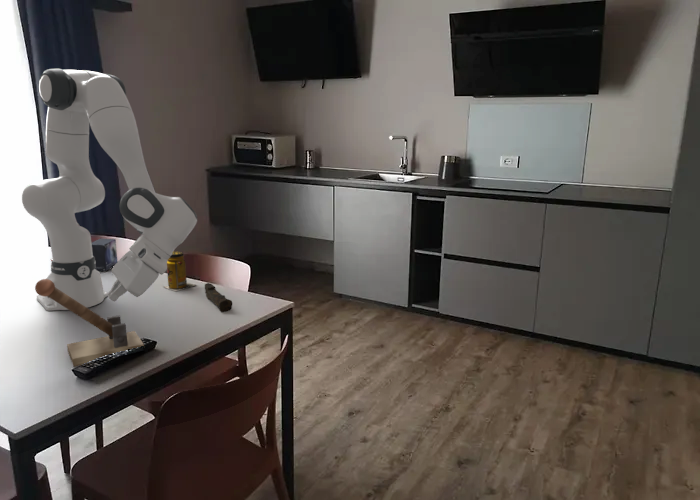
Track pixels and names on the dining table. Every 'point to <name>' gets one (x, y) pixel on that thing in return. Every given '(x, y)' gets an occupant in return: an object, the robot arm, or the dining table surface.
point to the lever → (72, 305)
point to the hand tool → (217, 298)
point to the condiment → (177, 272)
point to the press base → (104, 343)
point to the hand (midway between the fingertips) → (110, 298)
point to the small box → (104, 253)
